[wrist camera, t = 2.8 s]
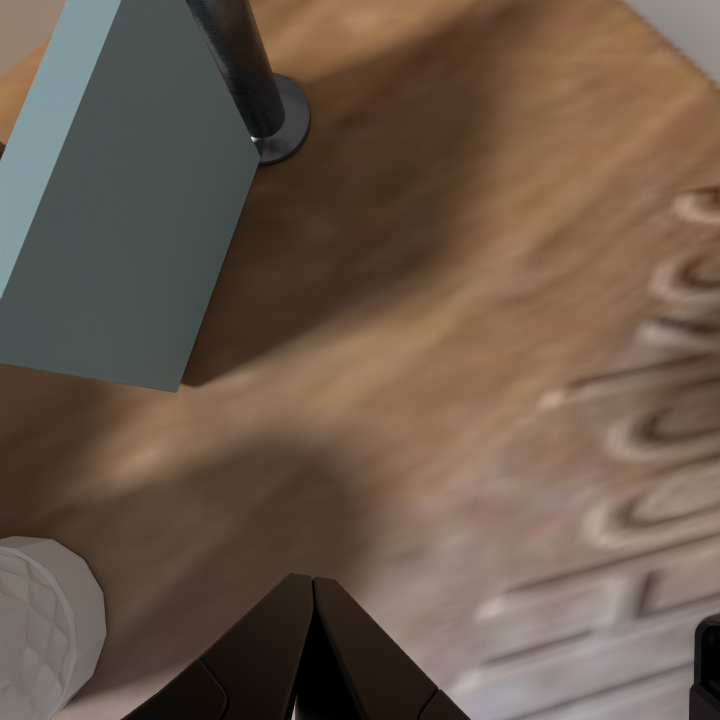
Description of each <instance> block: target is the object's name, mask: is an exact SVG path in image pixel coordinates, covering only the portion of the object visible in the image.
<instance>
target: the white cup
mask: <svg viewBox="0 0 720 720" xmlns="http://www.w3.org/2000/svg"><path fill="white" fill-rule="evenodd" d="M106 635H107V631H106V619H105V607H104V595H103V592H102V590H101V588H100V587H99V585H98V583H97V581H96V580H95V578H94V576H93V574H92V573H91V571H90V569H89V567H88V565H87V564H86V562H85V560H84V559H83V558H81V557H80V556H78V555H76V554H75V553H73V552H72V551H70V550H69V549H67V548H66V547H64V546H63V545H61V544H60V543H58V542H56V541H55V540H53V539H46V538H34V537H22V536H12V537H7V538H3V539H0V720H51V719H52V718H53V717H54V716H55V715H56V714H57V713H59V712H60V711H61V710H62V709H63V708H64V707H65V706H66V704H67V703H68V702H69V701H70V700H71V699H72V698H73V697H74V696H75V695H76V693H77V692H78V691H79V690H80V689H81V688H82V687H83V686H84V685H85V684H86V682H87V681H88V680H89V679H90V678H91V677H92V676H93V674H94V671H95V668H96V665H97V662H98V659H99V656H100V653H101V650H102V647H103V644H104V641H105V638H106Z"/></svg>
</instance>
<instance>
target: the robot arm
mask: <svg viewBox="0 0 720 720" xmlns="http://www.w3.org/2000/svg"><path fill="white" fill-rule="evenodd" d="M712 633H716V634H717V639H716V641H715V642H714V643H711V644H710V643H709V637H710V635H711V634H712ZM294 705H295V720H471V719H470V718H469V717H468V716H467V715H466V714H465V713H464V712H463V711H462V710H461V709H460V708H459V707H458V706H457V705H456V704H455V703H454V702H453V701H452V700H451V699H450V698H449V697H448V696H447V695H446V694H445V693H444V692H443V691H442V690H439V688H438V687H437V685H436V684H435V683H434V682H433V681H432V680H431V679H430V678H429V677H428V676H427V675H426V674H425V673H424V672H423V671H422V670H421V669H420V668H419V667H418V666H417V665H416V664H415V662H414V661H413V660H412V659H411V658H410V657H409V656H408V655H407V654H406V653H405V652H404V651H403V650H402V649H401V648H400V647H399V646H398V645H397V644H396V643H395V642H394V641H393V639H392V638H391V637H390V636H389V635H388V634H387V633H386V632H385V631H384V630H383V629H382V628H381V627H380V626H379V625H378V624H377V623H376V622H375V621H374V620H373V619H372V618H371V616H370V615H369V614H368V613H367V612H366V611H365V610H364V609H363V608H362V607H361V606H360V605H359V604H358V603H357V602H356V601H355V600H354V599H353V598H352V597H351V596H350V595H349V593H348V592H347V591H346V590H345V589H344V588H343V587H342V586H341V585H340V584H339V583H338V582H337V581H336V580H334V579H328V578H321V577H315V578H314V579H313V580H312V578H311V577H310V576H307V575H300V574H294V573H291V574H289V575H288V576H287V577H285V578H284V579H283V580H282V581H281V582H280V583H279V584H278V585H277V586H276V587H275V588H273V589H272V590H271V591H270V592H269V593H268V594H267V595H266V596H265V597H264V598H263V599H262V600H260V601H259V602H258V603H257V604H256V605H255V606H254V607H253V608H252V609H251V610H250V611H249V612H247V613H246V614H245V615H244V616H243V617H242V618H241V619H240V620H239V621H238V622H237V623H235V624H234V625H233V626H232V627H231V628H230V629H229V630H228V631H227V632H226V633H225V634H224V635H222V636H221V637H220V638H219V639H218V640H217V641H216V642H215V643H214V644H213V645H212V646H210V647H209V648H208V649H207V650H206V651H205V652H204V653H203V654H202V655H201V656H200V657H199V658H198V659H196V660H194V661H193V662H192V663H191V664H190V665H189V666H188V667H187V668H185V669H184V670H183V671H182V672H181V673H180V674H179V675H178V676H176V677H175V678H174V679H173V680H172V681H170V682H169V683H168V684H167V685H166V686H165V687H163V688H162V689H161V690H160V691H159V692H157V693H156V694H155V695H153V696H152V697H151V698H149V699H148V700H147V701H145V702H144V703H143V704H141V705H140V706H139V707H137V708H136V709H135V710H133V711H132V712H131V713H129V714H128V715H126V716H125V717H124V718H122V719H121V720H291V719H292V715H293V710H294ZM689 720H720V622H712V621H706V622H702V623H701V624H699V625H698V627H697V628H696V631H695V652H694V684H693V685H692V687H691V688H690V698H689Z"/></svg>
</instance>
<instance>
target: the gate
mask: <svg viewBox="0 0 720 720" xmlns="http://www.w3.org/2000/svg"><path fill="white" fill-rule="evenodd" d="M260 158H261V157H260V155H259V153H258V151H257V148H256V146H255V144H254V142H253V140H252V138H251V136H250V134H249V132H248V130H247V128H246V125H245V123H244V121H243V119H242V117H241V115H240V113H239V111H238V109H237V107H236V105H235V102H234V100H233V98H232V96H231V94H230V92H229V90H228V88H227V86H226V84H225V82H224V79H223V77H222V75H221V73H220V71H219V69H218V67H217V65H216V63H215V61H214V59H213V56H212V54H211V52H210V50H209V48H208V46H207V44H206V42H205V40H204V38H203V36H202V34H201V31H200V29H199V27H198V25H197V23H196V21H195V19H194V17H193V15H192V13H191V11H190V8H189V6H188V4H187V2H186V0H67V2H66V4H65V6H64V9H63V11H62V14H61V16H60V19H59V21H58V23H57V26H56V28H55V30H54V33H53V35H52V38H51V40H50V42H49V45H48V47H47V50H46V52H45V54H44V57H43V59H42V62H41V64H40V66H39V69H38V71H37V74H36V76H35V78H34V81H33V83H32V86H31V88H30V90H29V93H28V95H27V98H26V100H25V102H24V105H23V107H22V110H21V112H20V114H19V117H18V119H17V122H16V124H15V126H14V129H13V131H12V134H11V136H10V138H9V141H8V143H7V146H6V148H5V151H4V153H3V155H2V158H1V160H0V363H2V364H8V365H14V366H20V367H26V368H32V369H38V370H44V371H49V372H55V373H61V374H67V375H73V376H79V377H85V378H91V379H97V380H103V381H109V382H115V383H121V384H127V385H133V386H139V387H145V388H150V389H156V390H162V391H168V392H174V393H177V390H178V387H179V385H180V382H181V379H182V376H183V373H184V371H185V368H186V365H187V362H188V359H189V357H190V354H191V351H192V348H193V345H194V343H195V340H196V337H197V334H198V331H199V329H200V326H201V323H202V320H203V317H204V315H205V312H206V309H207V306H208V303H209V301H210V298H211V295H212V292H213V289H214V287H215V284H216V281H217V278H218V275H219V273H220V270H221V267H222V264H223V261H224V259H225V256H226V253H227V250H228V248H229V245H230V242H231V239H232V236H233V234H234V231H235V228H236V225H237V222H238V220H239V217H240V214H241V211H242V208H243V206H244V203H245V200H246V197H247V194H248V192H249V189H250V186H251V183H252V180H253V178H254V175H255V172H256V169H257V166H258V164H259V161H260Z"/></svg>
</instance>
